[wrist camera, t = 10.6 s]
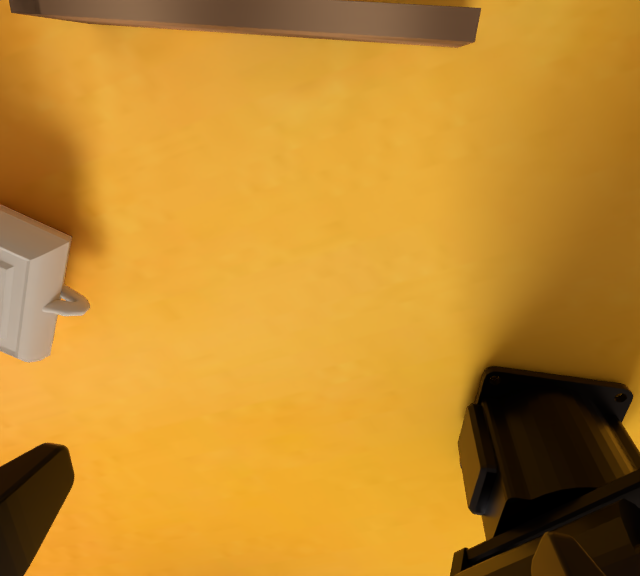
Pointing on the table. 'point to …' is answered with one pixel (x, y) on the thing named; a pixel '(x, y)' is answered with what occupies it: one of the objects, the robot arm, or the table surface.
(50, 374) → the table surface
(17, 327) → the stamp
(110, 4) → the bay
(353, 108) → the table surface
